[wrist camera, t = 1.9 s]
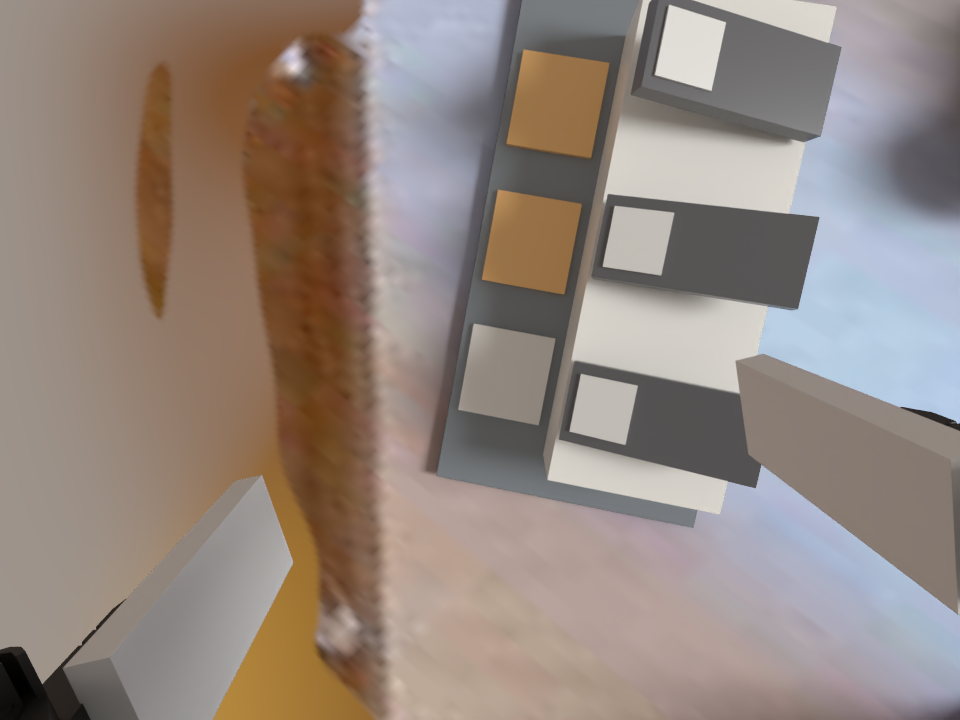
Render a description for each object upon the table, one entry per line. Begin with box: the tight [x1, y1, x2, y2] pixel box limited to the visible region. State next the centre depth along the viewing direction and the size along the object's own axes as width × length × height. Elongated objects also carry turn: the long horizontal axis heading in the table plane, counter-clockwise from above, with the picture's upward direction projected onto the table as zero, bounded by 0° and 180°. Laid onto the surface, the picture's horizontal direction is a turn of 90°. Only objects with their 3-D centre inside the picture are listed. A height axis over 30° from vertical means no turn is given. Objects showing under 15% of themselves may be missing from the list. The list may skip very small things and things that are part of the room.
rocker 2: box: [559, 360, 761, 488], centre depth 29 cm, size 10×4×1 cm, turn 80°
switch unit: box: [437, 0, 837, 528], centre depth 34 cm, size 18×34×8 cm, turn 170°
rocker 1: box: [631, 0, 841, 142], centre depth 27 cm, size 10×4×1 cm, turn 79°
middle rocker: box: [591, 194, 819, 310], centre depth 28 cm, size 10×4×1 cm, turn 80°
